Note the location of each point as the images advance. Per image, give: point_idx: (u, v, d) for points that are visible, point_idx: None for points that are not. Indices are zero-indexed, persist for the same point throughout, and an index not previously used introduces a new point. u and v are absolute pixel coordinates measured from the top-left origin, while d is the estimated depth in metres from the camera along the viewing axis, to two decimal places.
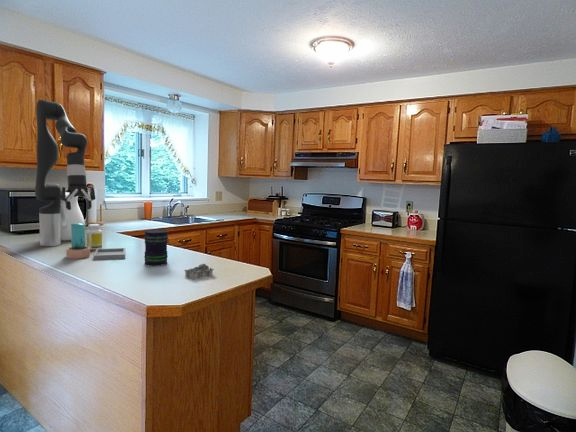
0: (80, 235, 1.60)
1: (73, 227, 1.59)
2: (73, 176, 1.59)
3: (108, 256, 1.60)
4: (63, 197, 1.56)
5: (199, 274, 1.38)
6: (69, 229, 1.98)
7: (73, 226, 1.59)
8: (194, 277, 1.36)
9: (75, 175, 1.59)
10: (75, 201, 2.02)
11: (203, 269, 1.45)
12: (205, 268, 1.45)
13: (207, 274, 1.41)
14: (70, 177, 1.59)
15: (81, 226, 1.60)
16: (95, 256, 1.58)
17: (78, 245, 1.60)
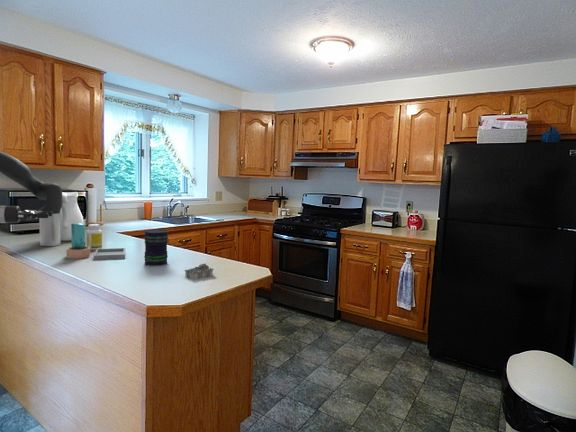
0: (80, 235, 1.60)
1: (73, 227, 1.59)
2: None
3: (108, 256, 1.60)
4: None
5: (199, 274, 1.38)
6: None
7: (73, 226, 1.59)
8: (194, 277, 1.36)
9: None
10: (75, 201, 2.02)
11: (203, 269, 1.45)
12: (205, 268, 1.45)
13: (207, 274, 1.41)
14: None
15: (81, 226, 1.60)
16: (95, 256, 1.58)
17: (78, 245, 1.60)
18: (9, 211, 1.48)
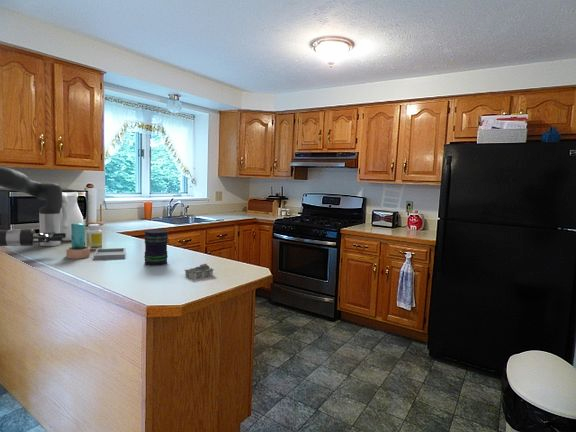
0: (80, 235, 1.60)
1: (73, 227, 1.59)
2: None
3: (108, 256, 1.60)
4: None
5: (198, 274, 1.38)
6: None
7: (73, 226, 1.59)
8: (193, 277, 1.36)
9: None
10: (75, 201, 2.02)
11: (204, 269, 1.45)
12: (206, 268, 1.45)
13: (207, 274, 1.40)
14: None
15: (81, 226, 1.60)
16: (95, 256, 1.58)
17: (78, 245, 1.60)
18: (24, 235, 1.51)
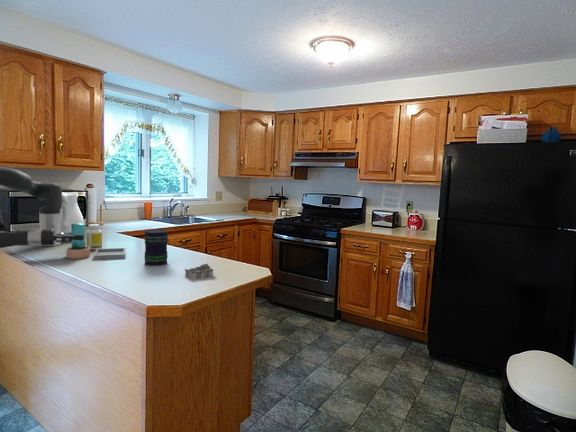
0: None
1: (73, 227, 1.59)
2: None
3: (108, 256, 1.60)
4: None
5: (198, 274, 1.38)
6: None
7: (73, 226, 1.59)
8: (192, 277, 1.36)
9: None
10: (75, 201, 2.02)
11: (205, 269, 1.45)
12: (207, 268, 1.45)
13: (207, 274, 1.40)
14: None
15: (81, 226, 1.60)
16: (95, 256, 1.58)
17: (78, 245, 1.60)
18: (45, 234, 1.54)
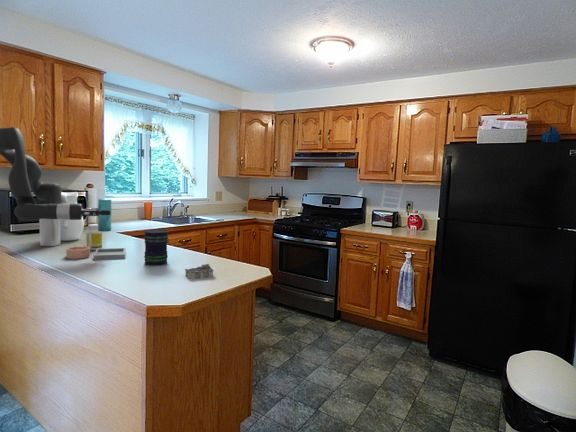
0: None
1: (100, 202, 1.61)
2: None
3: (108, 256, 1.60)
4: None
5: (197, 274, 1.38)
6: (71, 229, 1.98)
7: (100, 201, 1.61)
8: (191, 277, 1.36)
9: None
10: (75, 201, 2.02)
11: (206, 269, 1.45)
12: (208, 268, 1.45)
13: (206, 275, 1.40)
14: None
15: (108, 201, 1.62)
16: (95, 256, 1.58)
17: (105, 220, 1.62)
18: (74, 208, 1.56)
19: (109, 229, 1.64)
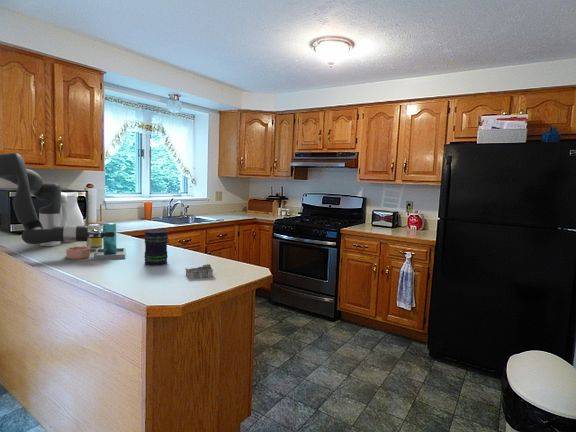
0: None
1: (105, 227, 1.64)
2: None
3: (108, 256, 1.60)
4: None
5: (196, 274, 1.38)
6: None
7: (105, 226, 1.64)
8: (190, 277, 1.36)
9: None
10: (75, 201, 2.02)
11: (207, 270, 1.45)
12: (209, 269, 1.44)
13: (206, 275, 1.39)
14: None
15: (112, 226, 1.65)
16: (95, 256, 1.58)
17: (110, 244, 1.65)
18: (80, 231, 1.59)
19: (114, 253, 1.67)
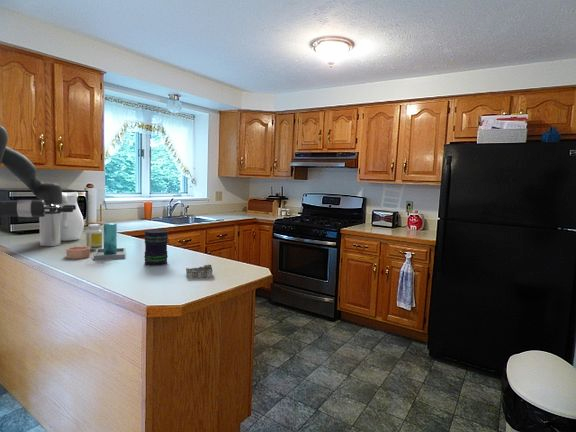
0: (112, 234, 1.65)
1: (106, 227, 1.64)
2: None
3: (108, 256, 1.60)
4: None
5: (196, 274, 1.38)
6: (71, 229, 1.98)
7: (106, 226, 1.64)
8: (189, 276, 1.36)
9: None
10: (75, 201, 2.02)
11: (208, 270, 1.44)
12: (210, 269, 1.44)
13: (205, 275, 1.39)
14: None
15: (113, 226, 1.65)
16: (95, 256, 1.58)
17: (110, 244, 1.65)
18: (35, 205, 1.51)
19: (115, 253, 1.67)
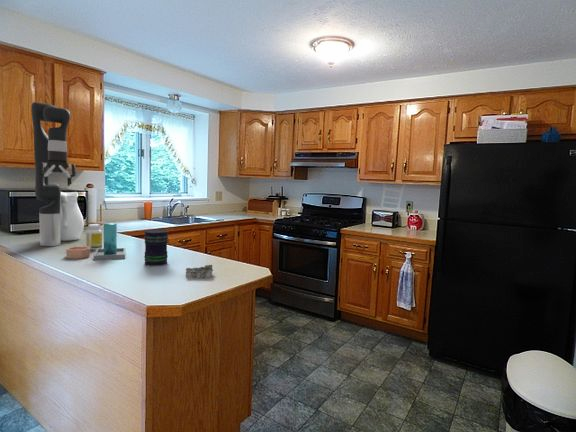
0: (112, 234, 1.65)
1: (106, 227, 1.64)
2: (50, 151, 1.58)
3: (108, 256, 1.60)
4: (40, 172, 1.59)
5: (195, 274, 1.38)
6: (71, 229, 1.98)
7: (106, 226, 1.64)
8: (188, 276, 1.37)
9: (51, 151, 1.58)
10: (75, 201, 2.02)
11: (209, 270, 1.44)
12: (211, 269, 1.43)
13: (204, 275, 1.38)
14: (48, 153, 1.59)
15: (113, 226, 1.65)
16: (95, 256, 1.58)
17: (110, 244, 1.65)
18: None
19: (115, 253, 1.67)
